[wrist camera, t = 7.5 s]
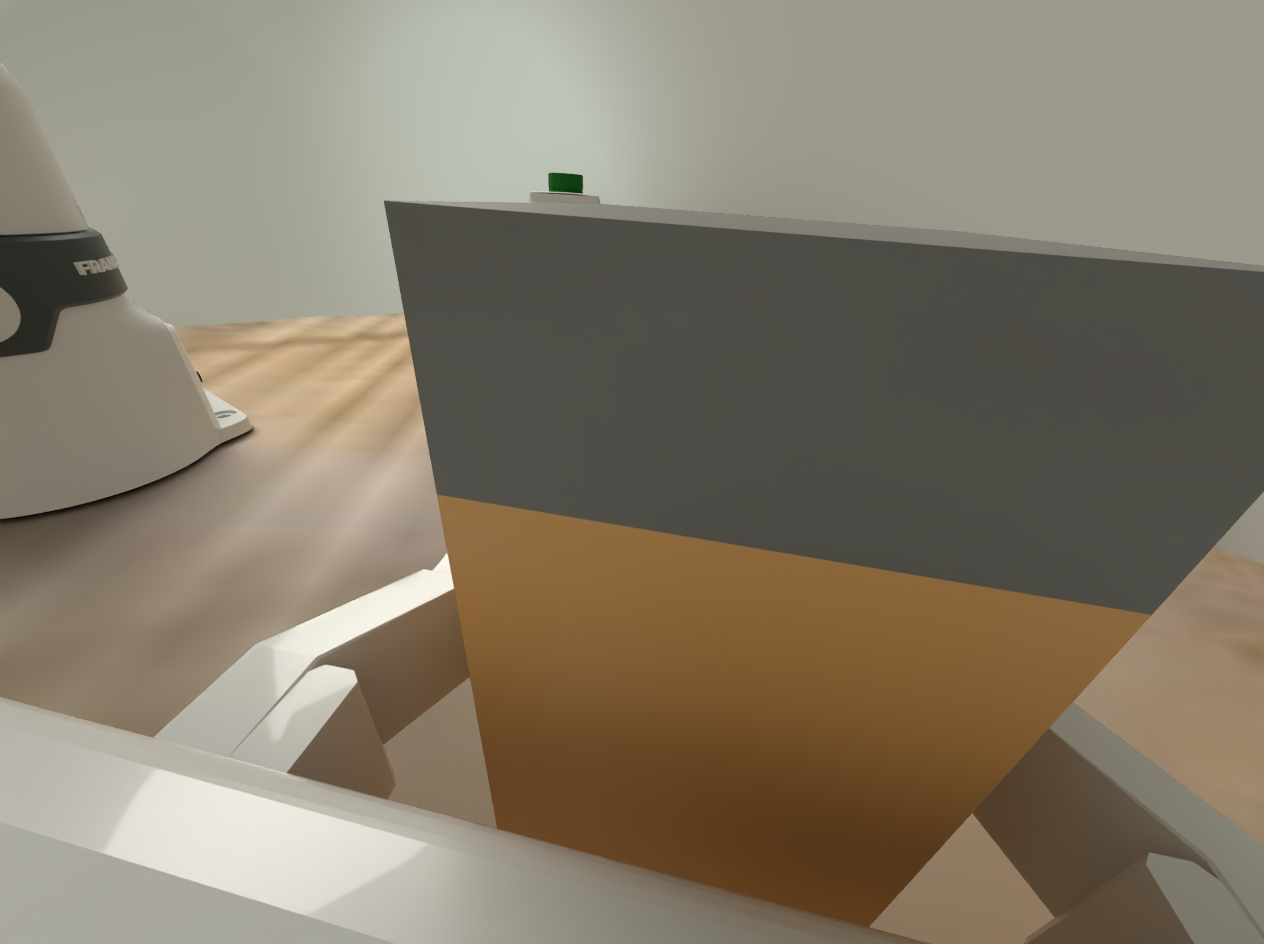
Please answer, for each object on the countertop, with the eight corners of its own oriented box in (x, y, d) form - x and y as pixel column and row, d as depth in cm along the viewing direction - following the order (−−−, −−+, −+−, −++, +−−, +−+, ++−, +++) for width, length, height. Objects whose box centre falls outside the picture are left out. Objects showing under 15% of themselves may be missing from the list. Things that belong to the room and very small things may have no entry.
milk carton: (599, 340, 67) (602, 177, 57) (601, 359, 59) (605, 174, 49) (537, 338, 66) (529, 172, 56) (531, 357, 58) (521, 168, 48)
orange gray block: (787, 1015, 8) (1448, 287, 2) (516, 936, 9) (385, 200, 3) (769, 736, 12) (960, 231, 6) (587, 696, 13) (600, 204, 7)
